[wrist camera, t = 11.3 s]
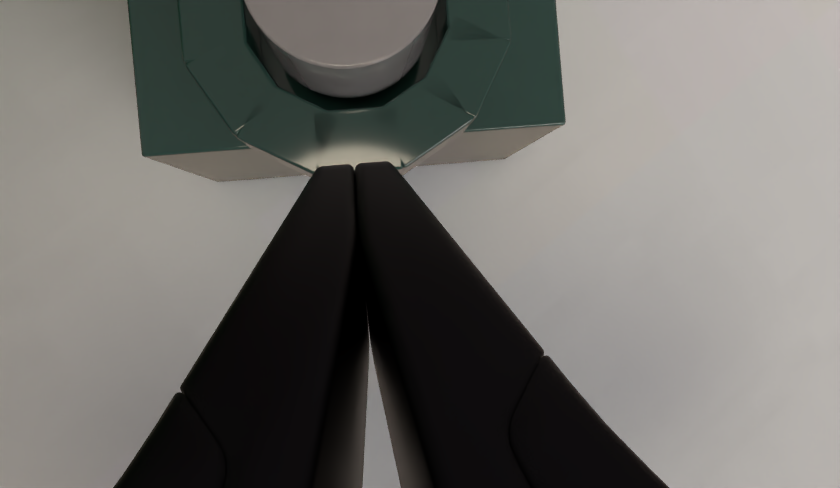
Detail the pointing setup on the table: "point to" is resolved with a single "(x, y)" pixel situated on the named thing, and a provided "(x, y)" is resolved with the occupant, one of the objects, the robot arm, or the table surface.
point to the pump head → (345, 41)
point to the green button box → (341, 117)
